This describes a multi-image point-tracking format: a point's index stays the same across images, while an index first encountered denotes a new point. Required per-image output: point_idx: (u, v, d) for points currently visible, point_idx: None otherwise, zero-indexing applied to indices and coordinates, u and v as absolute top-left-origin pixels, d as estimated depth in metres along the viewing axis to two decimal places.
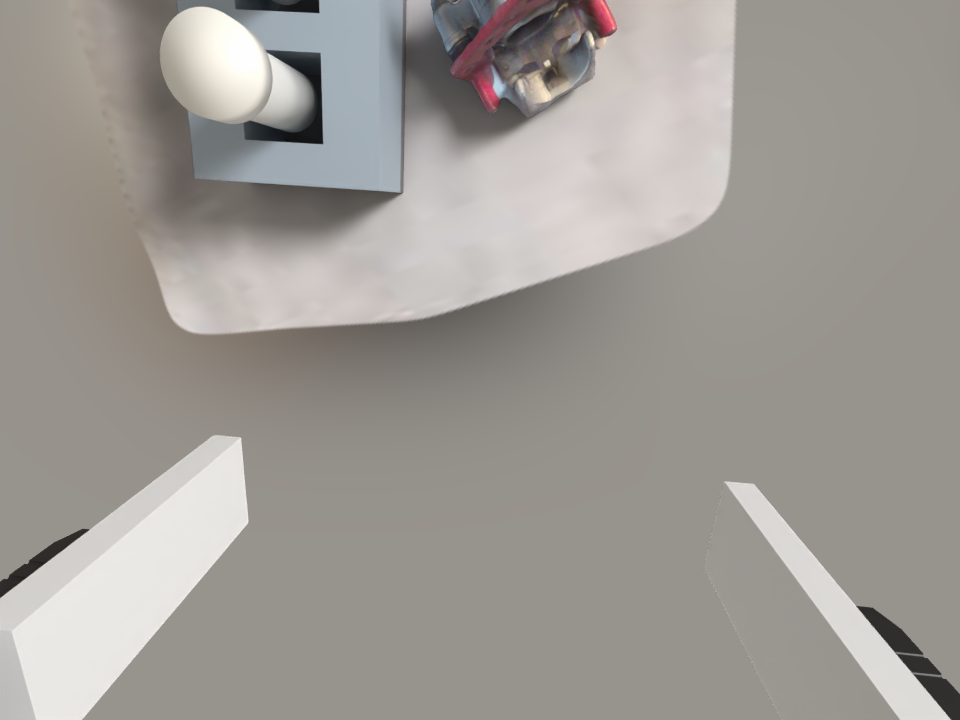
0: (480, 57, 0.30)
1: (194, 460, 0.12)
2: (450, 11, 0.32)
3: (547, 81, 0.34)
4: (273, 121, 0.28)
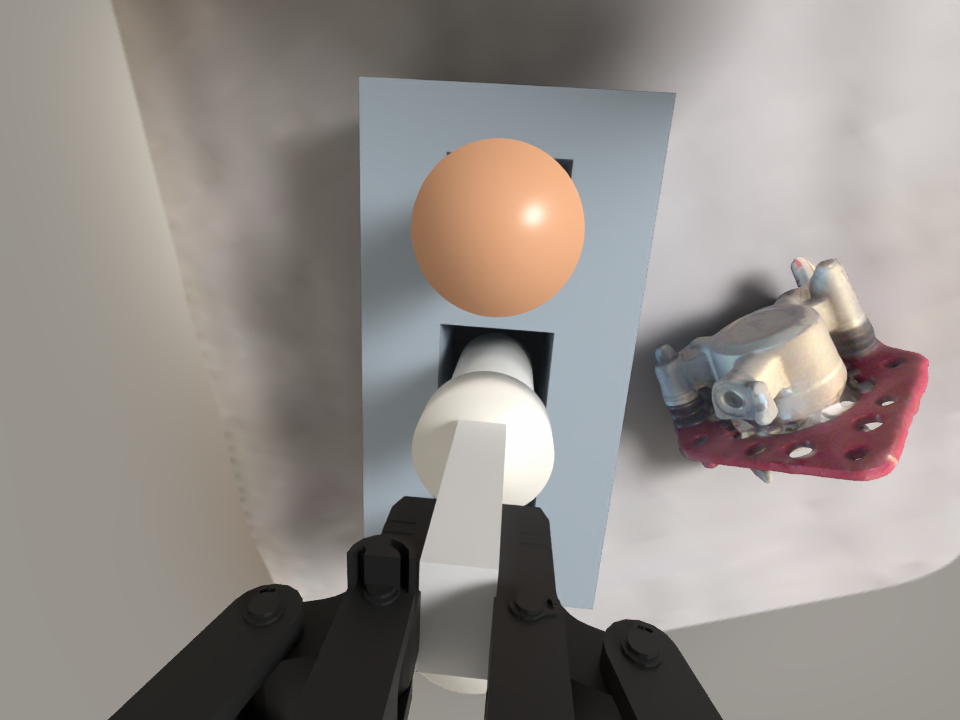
0: None
1: (464, 440, 0.14)
2: (681, 369, 0.26)
3: None
4: None
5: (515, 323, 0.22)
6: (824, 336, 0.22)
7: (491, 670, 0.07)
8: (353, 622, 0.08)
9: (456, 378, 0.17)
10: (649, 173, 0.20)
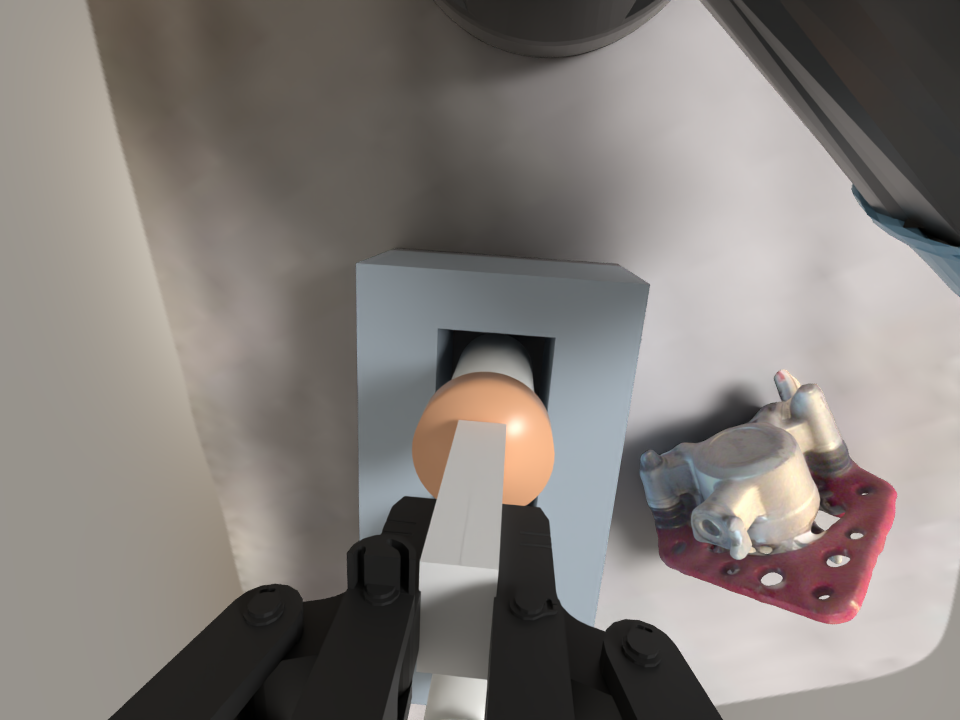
0: None
1: (464, 440, 0.14)
2: (664, 476, 0.27)
3: None
4: None
5: None
6: (800, 468, 0.23)
7: (491, 670, 0.07)
8: (353, 622, 0.08)
9: None
10: (626, 351, 0.21)
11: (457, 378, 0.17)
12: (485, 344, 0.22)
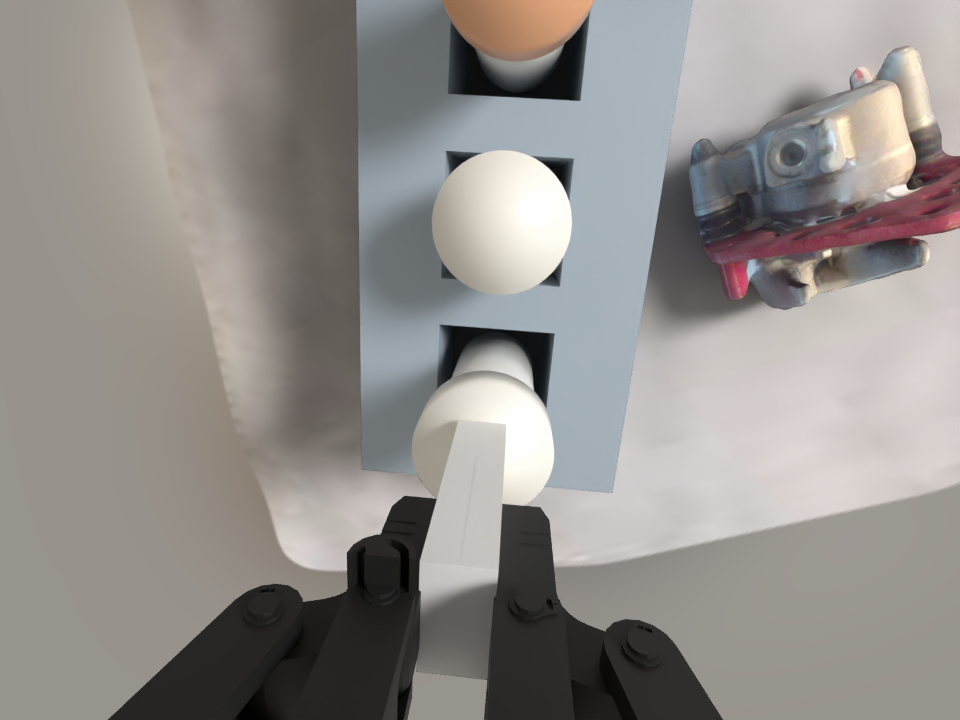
0: None
1: (464, 440, 0.14)
2: (721, 167, 0.23)
3: (816, 273, 0.25)
4: None
5: (530, 148, 0.20)
6: (899, 103, 0.19)
7: (491, 670, 0.07)
8: (353, 622, 0.08)
9: None
10: None
11: None
12: None
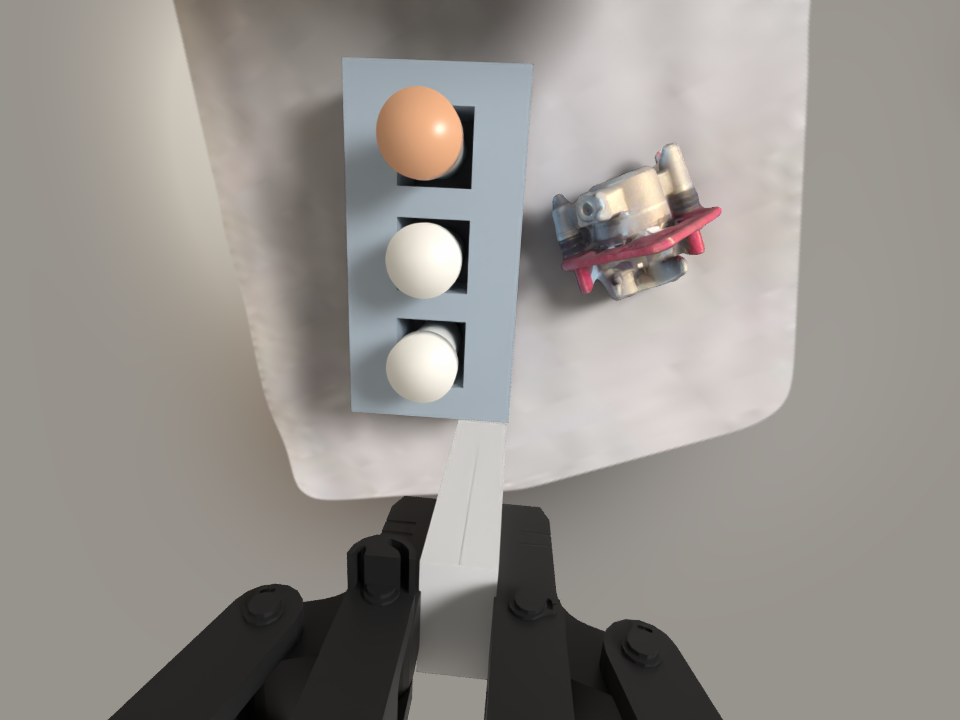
0: None
1: (464, 440, 0.14)
2: (568, 212, 0.37)
3: (636, 277, 0.39)
4: None
5: (445, 215, 0.34)
6: (653, 180, 0.33)
7: (491, 670, 0.07)
8: (353, 622, 0.08)
9: None
10: (521, 114, 0.32)
11: None
12: None
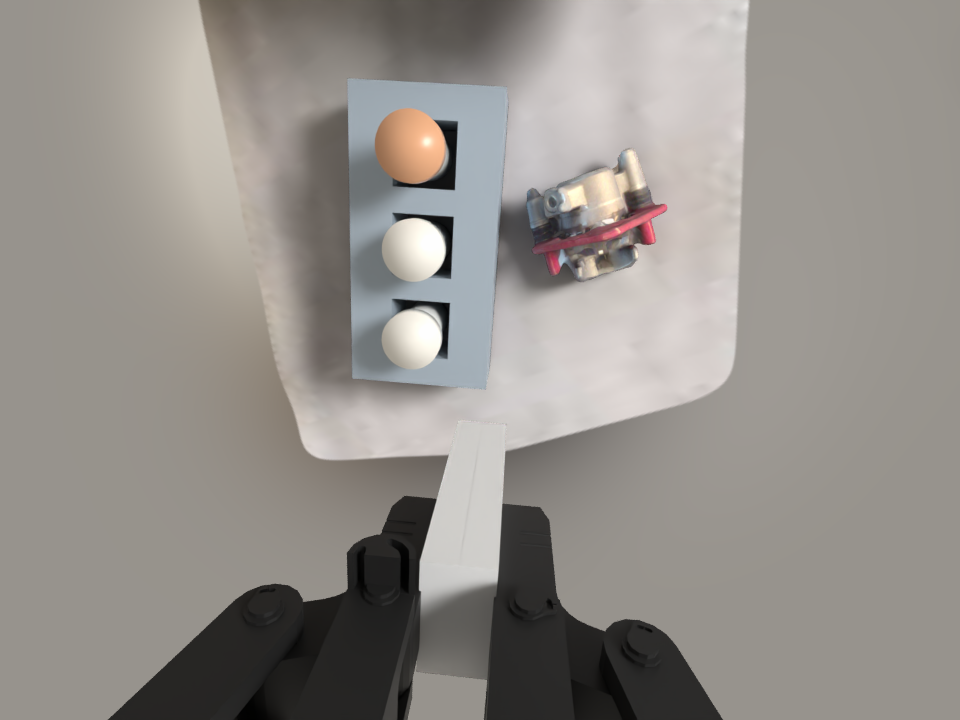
0: None
1: (464, 440, 0.14)
2: (540, 203, 0.43)
3: (598, 262, 0.45)
4: None
5: (432, 211, 0.40)
6: (609, 180, 0.39)
7: (491, 670, 0.07)
8: (353, 622, 0.08)
9: None
10: (496, 128, 0.38)
11: None
12: None
